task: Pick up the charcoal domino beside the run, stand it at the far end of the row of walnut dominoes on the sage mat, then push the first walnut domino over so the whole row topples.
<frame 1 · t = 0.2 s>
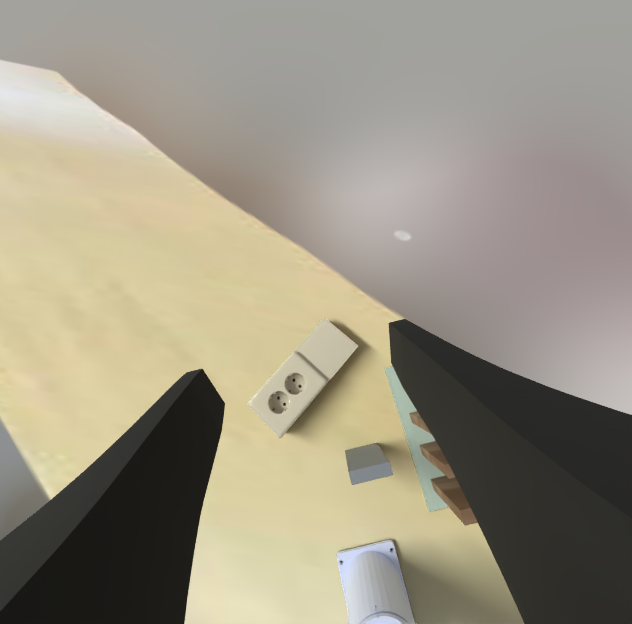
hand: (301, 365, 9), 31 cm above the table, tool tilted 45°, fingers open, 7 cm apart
sage mat: (427, 428, 35), on the table
walnut domino 3: (426, 414, 35), resting on sage mat
walnut domino 2: (437, 446, 34), resting on sage mat
charcoal end domino: (362, 451, 35), on the table
electrical outlet: (306, 374, 39), on the table
walnut domino 1: (449, 480, 33), resting on sage mat
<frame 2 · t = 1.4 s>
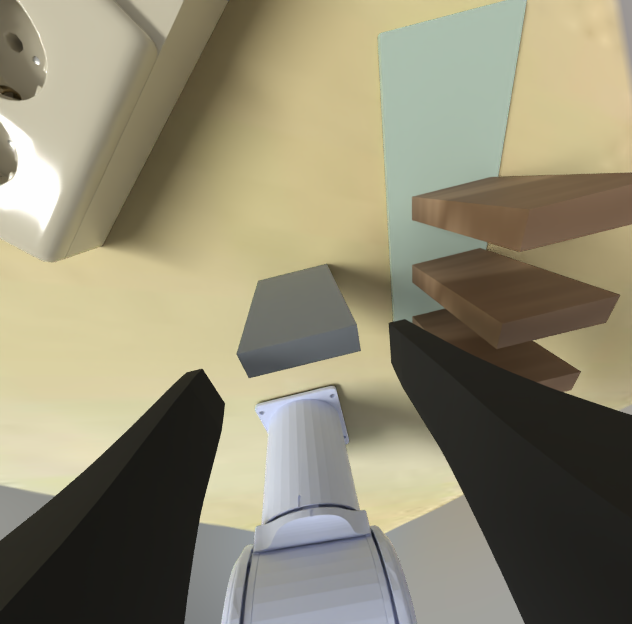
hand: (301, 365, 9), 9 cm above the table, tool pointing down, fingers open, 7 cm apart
sage mat: (438, 231, 16), on the table
walnut domino 3: (450, 199, 15), resting on sage mat
walnut domino 2: (445, 265, 17), resting on sage mat
charcoal end domino: (294, 281, 17), on the table
electrical outlet: (99, 44, 10), on the table
walnut domino 1: (441, 316, 19), resting on sage mat
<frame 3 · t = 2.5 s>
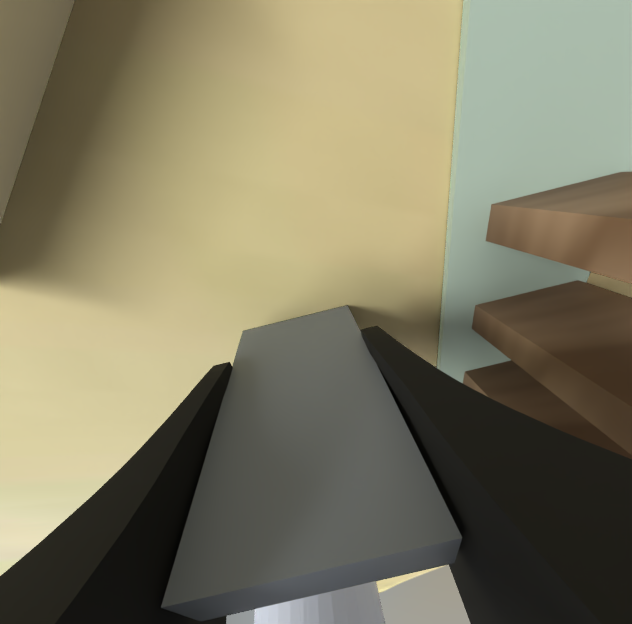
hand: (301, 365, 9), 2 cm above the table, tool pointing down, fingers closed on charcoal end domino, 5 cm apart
sage mat: (519, 257, 10), on the table
walnut domino 3: (550, 207, 9), resting on sage mat
walnut domino 2: (522, 305, 11), resting on sage mat
charcoal end domino: (298, 330, 11), on the table, touching gripper
walnut domino 1: (504, 369, 14), resting on sage mat
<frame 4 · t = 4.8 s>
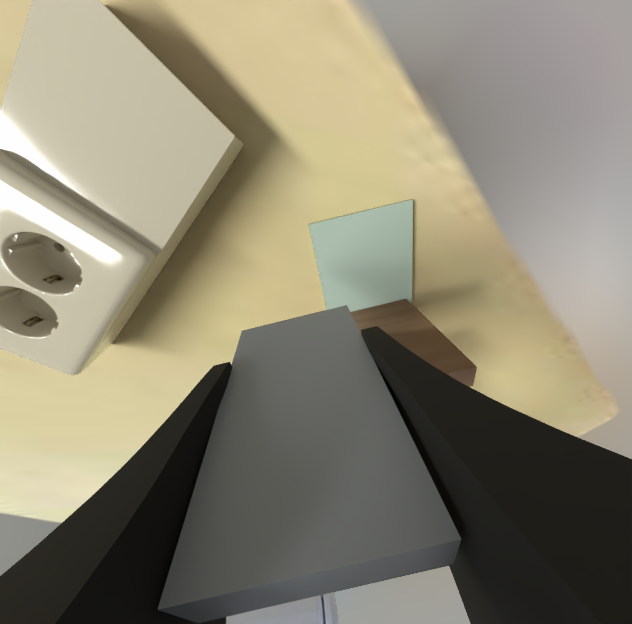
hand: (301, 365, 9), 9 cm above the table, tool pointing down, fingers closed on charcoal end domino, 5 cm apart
sage mat: (371, 331, 20), on the table
walnut domino 3: (376, 312, 19), resting on sage mat
charcoal end domino: (298, 330, 11), point 7 cm above the table, touching gripper
electrical outlet: (114, 223, 15), on the table
when the fingers open (4 cm above the table, at t = 7.1 s): charcoal end domino stays where it is, resting on sage mat.
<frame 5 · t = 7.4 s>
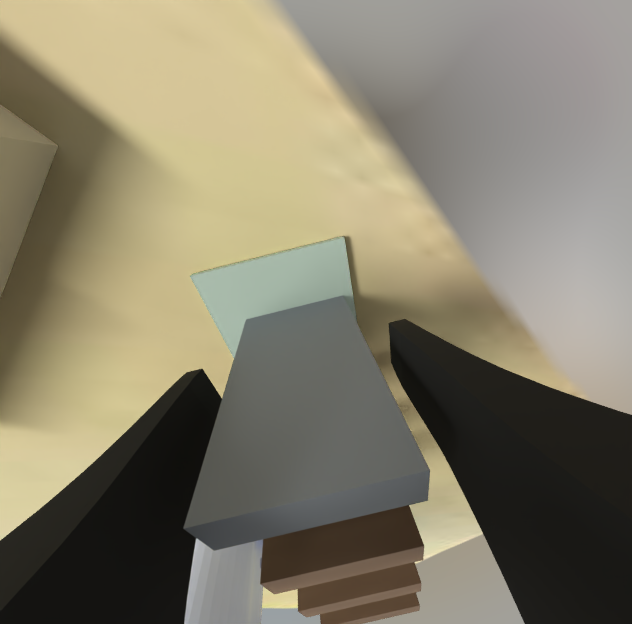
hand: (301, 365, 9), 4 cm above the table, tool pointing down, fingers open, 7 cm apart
sage mat: (315, 398, 15), on the table
walnut domino 3: (316, 379, 14), resting on sage mat
walnut domino 2: (329, 423, 16), resting on sage mat
charcoal end domino: (297, 318, 12), resting on sage mat
walnut domino 1: (340, 456, 19), resting on sage mat
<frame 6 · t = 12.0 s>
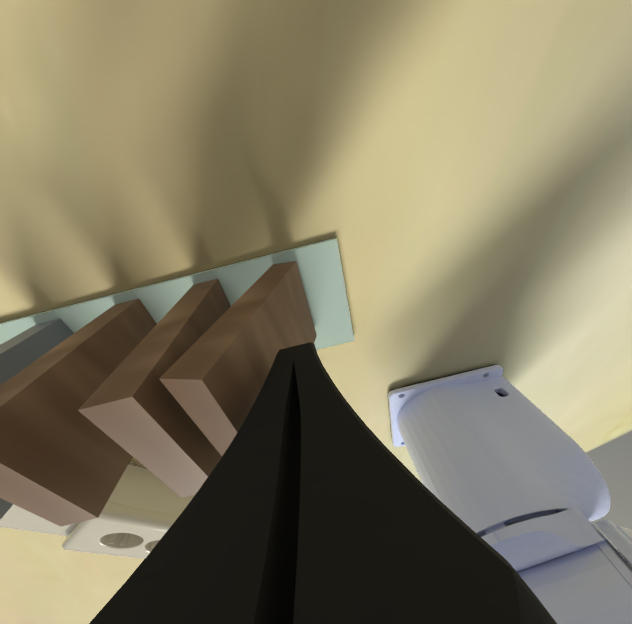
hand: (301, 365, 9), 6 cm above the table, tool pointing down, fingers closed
sage mat: (190, 332, 14), on the table
walnut domino 3: (152, 337, 14), resting on sage mat
walnut domino 2: (224, 319, 14), resting on sage mat
charcoal end domino: (81, 354, 14), resting on sage mat
electrical outlet: (129, 478, 22), on the table
walnut domino 1: (296, 302, 14), point 1 cm above the table, tilted 19°, touching sage mat
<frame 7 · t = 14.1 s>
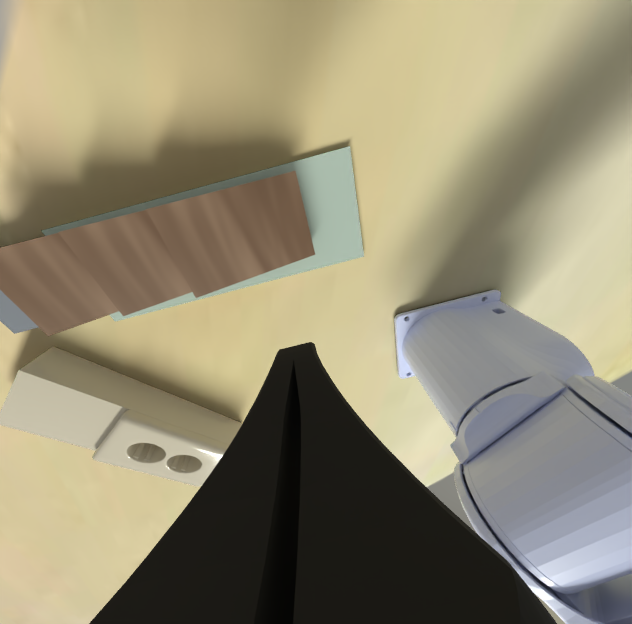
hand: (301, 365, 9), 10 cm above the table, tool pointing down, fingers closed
sage mat: (218, 243, 16), on the table
walnut domino 3: (166, 251, 15), point 1 cm above the table, tilted 71°, touching charcoal end domino, sage mat, walnut domino 2
walnut domino 2: (235, 233, 15), point 1 cm above the table, tilted 72°, touching sage mat, walnut domino 1, walnut domino 3
charcoal end domino: (104, 268, 15), point 1 cm above the table, tilted 90°, touching sage mat, walnut domino 3
electrical outlet: (150, 406, 24), on the table
walnut domino 1: (302, 215, 15), point 1 cm above the table, tilted 72°, touching sage mat, walnut domino 2
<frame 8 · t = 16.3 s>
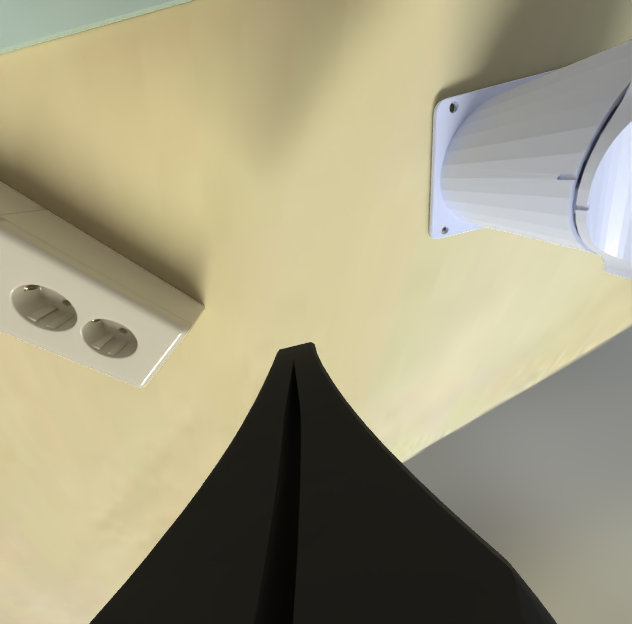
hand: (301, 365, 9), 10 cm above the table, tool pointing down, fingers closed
electrical outlet: (68, 266, 17), on the table
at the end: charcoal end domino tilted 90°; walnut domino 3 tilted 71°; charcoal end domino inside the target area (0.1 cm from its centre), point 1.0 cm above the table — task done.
